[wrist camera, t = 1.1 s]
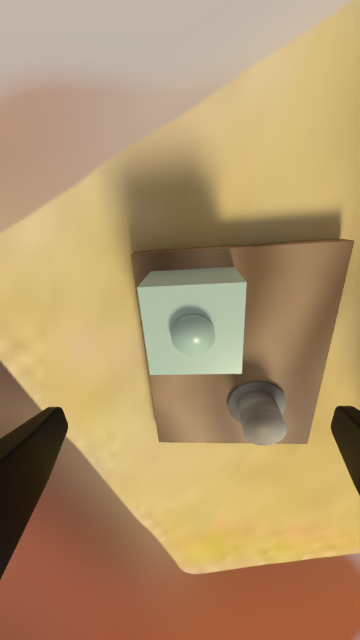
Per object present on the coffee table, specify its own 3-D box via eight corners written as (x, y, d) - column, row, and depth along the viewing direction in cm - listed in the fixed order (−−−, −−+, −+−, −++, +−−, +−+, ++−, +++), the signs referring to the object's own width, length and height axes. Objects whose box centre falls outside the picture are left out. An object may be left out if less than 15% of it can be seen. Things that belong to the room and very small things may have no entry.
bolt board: (342, 238, 15) (389, 245, 11) (301, 432, 22) (322, 474, 19) (135, 251, 16) (117, 261, 12) (160, 431, 23) (154, 471, 20)
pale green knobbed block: (234, 266, 15) (248, 284, 11) (232, 340, 17) (243, 377, 13) (151, 271, 15) (135, 289, 11) (159, 342, 18) (148, 379, 14)
